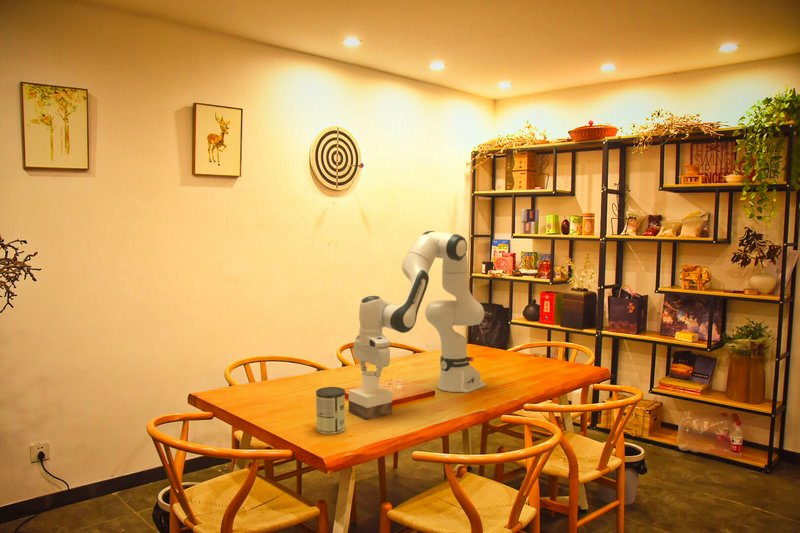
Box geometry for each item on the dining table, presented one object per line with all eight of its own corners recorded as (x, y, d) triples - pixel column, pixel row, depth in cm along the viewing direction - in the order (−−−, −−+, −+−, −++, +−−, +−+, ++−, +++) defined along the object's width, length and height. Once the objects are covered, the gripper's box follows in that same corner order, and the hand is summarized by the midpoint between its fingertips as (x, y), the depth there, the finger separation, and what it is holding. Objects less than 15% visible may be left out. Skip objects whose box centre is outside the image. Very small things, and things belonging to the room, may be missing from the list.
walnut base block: (374, 407, 248) (374, 395, 247) (391, 415, 238) (391, 402, 238) (348, 412, 241) (348, 400, 240) (365, 421, 231) (365, 408, 231)
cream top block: (373, 394, 248) (373, 385, 247) (392, 402, 238) (392, 391, 238) (348, 400, 240) (348, 390, 240) (366, 408, 231) (366, 397, 230)
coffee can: (318, 424, 226) (318, 386, 225) (346, 424, 226) (346, 386, 225) (313, 434, 216) (313, 394, 215) (343, 434, 216) (342, 395, 214)
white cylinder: (370, 387, 244) (370, 370, 243) (383, 391, 239) (383, 373, 239) (358, 391, 239) (358, 373, 238) (370, 394, 234) (370, 376, 233)
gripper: (349, 335, 244) (349, 369, 245) (378, 344, 227) (378, 381, 229) (362, 333, 247) (362, 367, 249) (392, 342, 231) (392, 378, 232)
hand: (370, 374), depth 239 cm, fingers open, 8 cm apart
